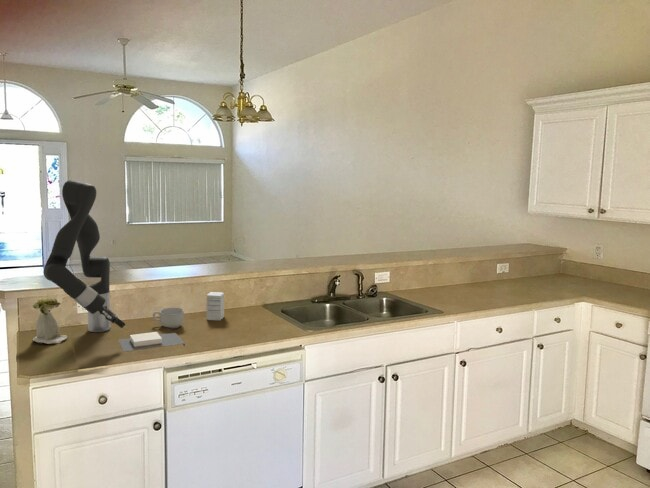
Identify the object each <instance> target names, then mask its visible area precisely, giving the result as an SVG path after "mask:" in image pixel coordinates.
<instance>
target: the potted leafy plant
mask: <svg viewBox="0 0 650 488" xmlns="http://www.w3.org/2000/svg"><path fill="white" fill-rule="evenodd" d="M61 303H62V302H61ZM61 303H60V302H58V300H57V299H56V298H53V297H43V298H39V299H38V300H37V301H36V302H35V303H34V304H32V308H34V309H35V310H39V312H40V313H39V315H38V317H37V320H36V324H35V326H36V327H35V330H36V331H35V332H36V336H34V337H33V338H32V339H31V341H32V342H36V343H40V344H43V343H44V344H47V345H50V344H61V343H62V342H63V341H66V339H68V336H67V334H66V335H63V334H62V335H61V334H60V333H59V332H60V330H61V329H60V325H59V322H58V321H57V320H56V318H55V317H54V315H53V314H52V313H51V311H52V309H56V308H59V306H60V305H61Z"/></svg>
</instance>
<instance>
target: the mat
mask: <svg viewBox="0 0 650 488" xmlns="http://www.w3.org/2000/svg"><path fill="white" fill-rule="evenodd" d="M159 335H160V336H161V338H162V344H157V345H150V346H142V347H134V345H133V344H132V342H131V340H130V337H129V338H122V339H118V340H117V341H118V342H119V345H120V346H121V348H122V351H123V353H125V352H130V351H131V352H132V351H138V350H146V349H147V350H148V349H154V348H161V347H167V346H168V347H169V346H175V345H177V346H178V345H183V346H185V342H184V341H183V339H182V338H181V337H180V336H179V335H178V334H177V333H176V332H171V333H170V332H169V333H163V334H159Z"/></svg>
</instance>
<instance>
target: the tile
mask: <svg viewBox="0 0 650 488" xmlns="http://www.w3.org/2000/svg"><path fill="white" fill-rule="evenodd" d="M160 335H161V334H159V332H158V331H153V332H144V333H136V334H130V335H129V338H130V340H131V342H132V344H133V345H134V347H142V346H150V345H157V344H162V338H161V336H160Z"/></svg>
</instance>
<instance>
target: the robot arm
mask: <svg viewBox="0 0 650 488" xmlns="http://www.w3.org/2000/svg"><path fill="white" fill-rule="evenodd" d="M61 193H62V199H63V203H64V205H65V207H66V210H67V212H68V215H69V219H70V220H69V221H68V222H67V223H66V224H64V226H62V227H61V228H60V229H59V231H58V232H57V234H56V236H55V239H54V242H53V245H52V248H51V253H49V257H48V259H47V261H46V263H45V265H44V268H43V276H44V278H45V279H46V280H48V281H50V282H52V283H54V284H55V285H56V286H57V287H59V288H60V289H61V290H63V292H64V293H65V294H67V295H68V296H69V297H70V298H72V299H73V300H74V301H75V302H76V303H77V304H78V305H80V306H81V307H82V308H83V309H84V310H86V311H87V327H88V328H87V330H88V332H90V333H103V332H107V331H110V329H111V323H112V324H116V326H118V327H119V328H121V329H123V328H125V327H124V326H126V322H124V321H123V320H122V319H120V318H119V316H118V315H116V313H115V312H114V311H113V310H112V309H111V301H110V298H111V295H110V274H111V272H110V270H111V268H110V267H111V265H110V264H111V263H110V259H109V258H108V257H107V256H91V254H92V252H93V250H95V248H96V247H97V246H98V243H99V242H100V238H101V237H100V236H101V235H100V231H99V227H98V224H97V222H96V221H95V219H94V218H93V216H91V215H90V211H91V210H92V209H93V206H94V205H95V201H96V198H97V189H96V187H95V185H94V184H91V183H86V182H82V181H77V180H71V179H70V180H67V181H65V182H64V184H63V185H62V191H61ZM76 244H77V247H78V250H79V251H78V252H79V256H80V257H79V258H80V262H81V268H82V272H83V275H84V276H85V277H86V278H93V279H95V278H99V279H100V280H99V281H98V282H96V283H93V284H90V285H88V284H86V283H85V282H84V281H82V280H81V279H79V278H78V277H76V275H75V274H73V272H72V271H70V270H69V269H68V267H66V266H67V264H68V261H69V259H70V258H71V256H72V255H73V253H74V249H75V245H76Z"/></svg>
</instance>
